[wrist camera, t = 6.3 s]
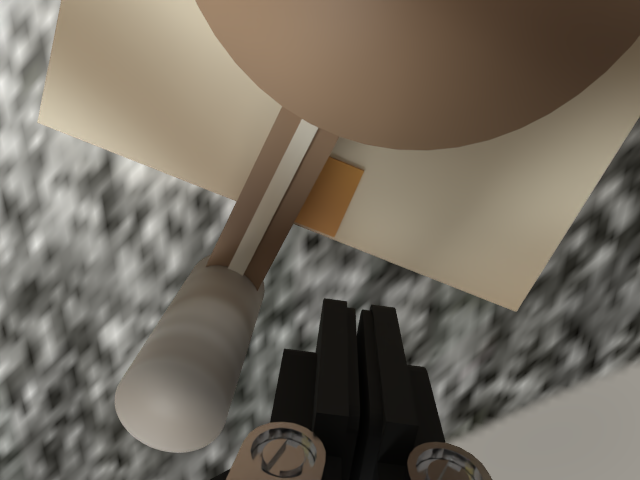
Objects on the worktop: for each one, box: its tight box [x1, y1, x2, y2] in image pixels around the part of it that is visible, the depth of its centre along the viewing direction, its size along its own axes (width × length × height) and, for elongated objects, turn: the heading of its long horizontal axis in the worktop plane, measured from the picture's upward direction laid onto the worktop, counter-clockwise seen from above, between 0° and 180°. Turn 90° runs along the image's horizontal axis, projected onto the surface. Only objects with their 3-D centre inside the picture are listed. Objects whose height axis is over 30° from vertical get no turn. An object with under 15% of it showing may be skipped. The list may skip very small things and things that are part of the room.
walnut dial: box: [115, 0, 640, 453], centre depth 9 cm, size 16×10×5 cm, turn 153°
